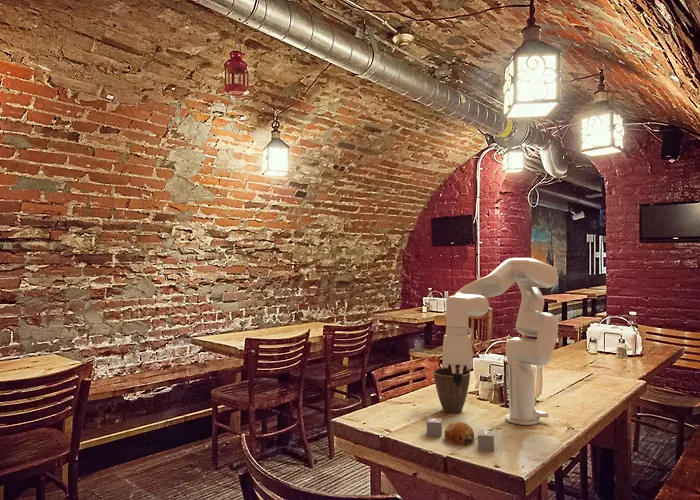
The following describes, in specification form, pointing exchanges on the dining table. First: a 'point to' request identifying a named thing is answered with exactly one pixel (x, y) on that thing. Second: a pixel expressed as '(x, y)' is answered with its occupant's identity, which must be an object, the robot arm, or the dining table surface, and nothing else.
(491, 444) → the numbered block 1
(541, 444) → the dining table surface
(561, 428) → the dining table surface
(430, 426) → the numbered block 7
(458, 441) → the bread roll
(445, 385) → the plant pot
